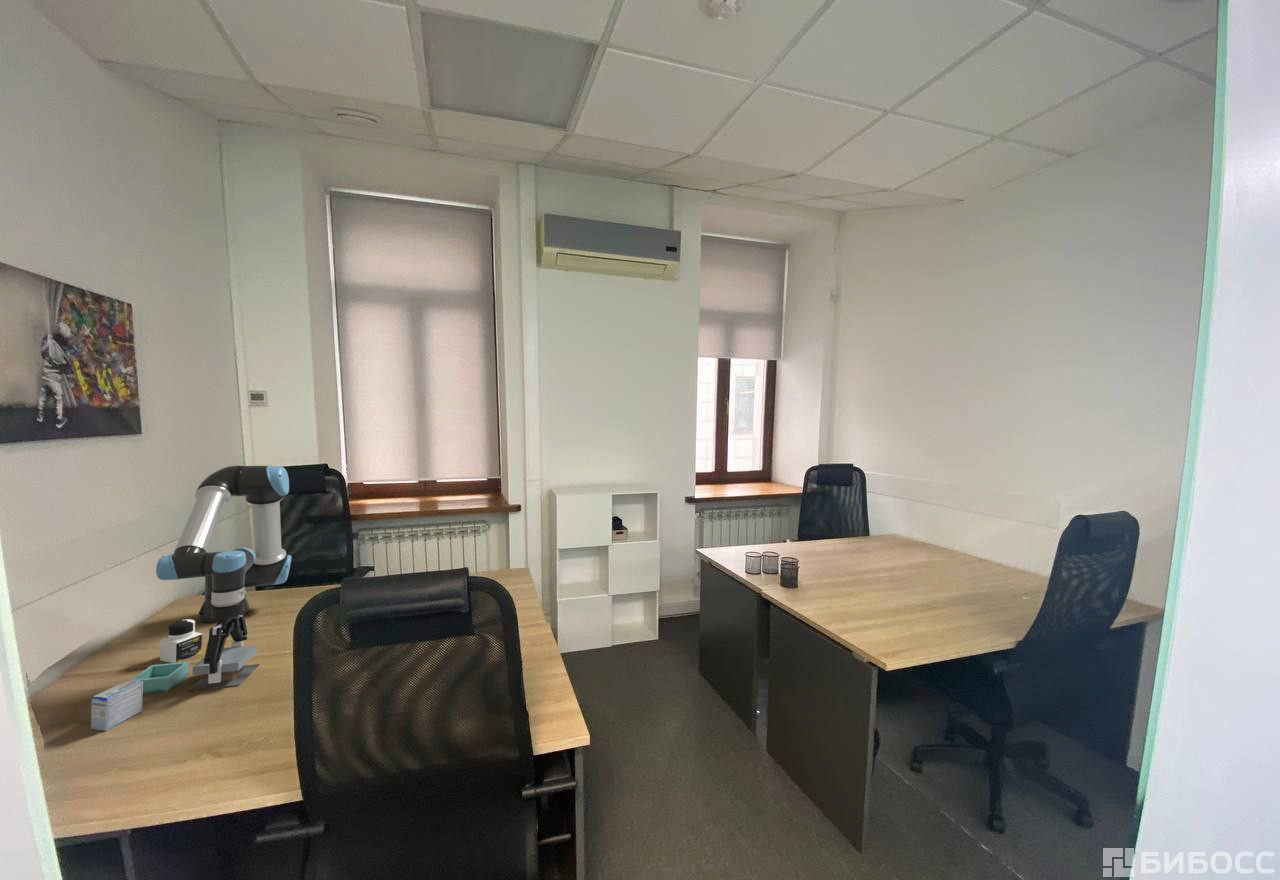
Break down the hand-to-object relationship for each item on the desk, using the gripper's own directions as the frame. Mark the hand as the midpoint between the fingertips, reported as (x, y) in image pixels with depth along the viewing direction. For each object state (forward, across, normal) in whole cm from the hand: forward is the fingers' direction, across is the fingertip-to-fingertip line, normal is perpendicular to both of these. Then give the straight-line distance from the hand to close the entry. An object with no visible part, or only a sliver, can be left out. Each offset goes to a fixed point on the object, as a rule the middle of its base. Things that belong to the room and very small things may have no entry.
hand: (226, 671), depth 137 cm
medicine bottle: (+2, +17, +20) cm, 26 cm away
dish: (+2, 0, +16) cm, 16 cm away
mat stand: (+2, 0, 0) cm, 2 cm away
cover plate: (-3, 0, 0) cm, 3 cm away
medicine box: (+2, -17, +15) cm, 23 cm away
